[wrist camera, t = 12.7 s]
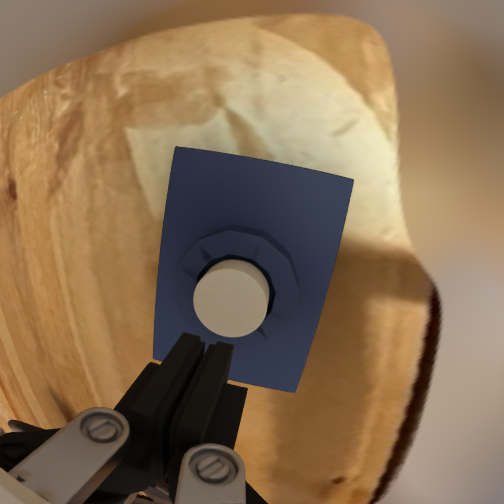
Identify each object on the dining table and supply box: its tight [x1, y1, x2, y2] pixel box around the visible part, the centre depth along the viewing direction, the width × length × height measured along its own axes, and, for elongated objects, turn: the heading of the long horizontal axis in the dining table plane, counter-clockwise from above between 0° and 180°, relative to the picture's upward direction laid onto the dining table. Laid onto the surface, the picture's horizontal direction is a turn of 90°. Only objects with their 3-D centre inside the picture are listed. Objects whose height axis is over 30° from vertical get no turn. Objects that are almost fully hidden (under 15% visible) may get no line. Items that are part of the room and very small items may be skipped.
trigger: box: [193, 259, 269, 337], centre depth 16 cm, size 4×4×2 cm
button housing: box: [153, 146, 354, 393], centre depth 18 cm, size 14×10×4 cm
